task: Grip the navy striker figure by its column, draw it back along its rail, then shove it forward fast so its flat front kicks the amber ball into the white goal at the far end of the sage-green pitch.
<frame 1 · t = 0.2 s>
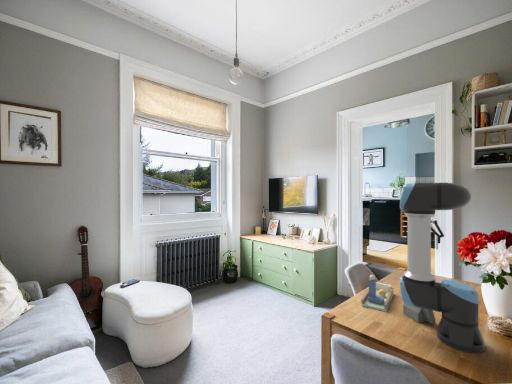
hand: (422, 247, 149), 28 cm above the table, fingers open, 13 cm apart
pitch: (378, 299, 141), on the table
striker: (376, 288, 136), point 8 cm above the table, slide at 0.0 cm
digital clock: (417, 317, 121), on the table
ball: (382, 292, 143), point 3 cm above the table, touching pitch
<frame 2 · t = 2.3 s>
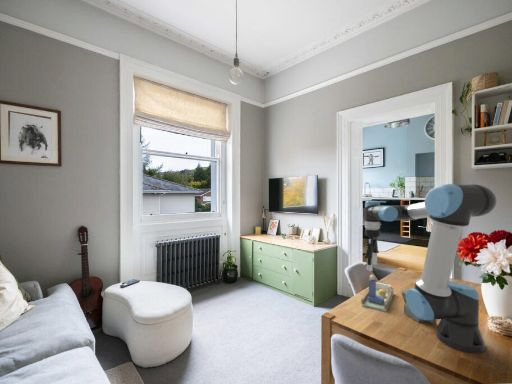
hand: (372, 267, 138), 19 cm above the table, fingers open, 13 cm apart
nothing on the table moved.
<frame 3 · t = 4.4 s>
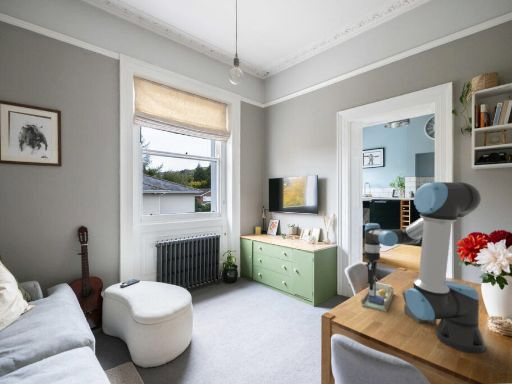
hand: (372, 294, 137), 5 cm above the table, fingers closed on striker, 3 cm apart
striker: (376, 288, 136), point 8 cm above the table, slide at 0.0 cm, touching gripper
everything else where it was.
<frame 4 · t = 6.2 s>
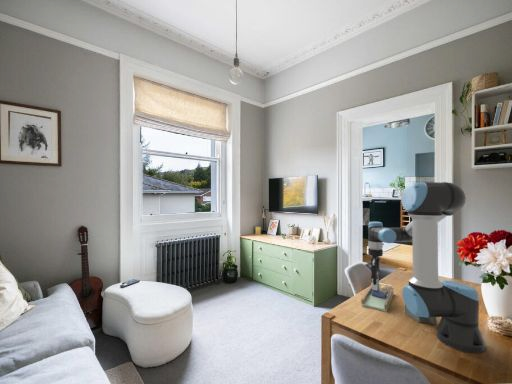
hand: (375, 288, 145), 5 cm above the table, fingers closed on striker, 3 cm apart
striker: (379, 283, 144), point 8 cm above the table, slide at 9.4 cm, touching gripper
ball: (384, 289, 148), point 3 cm above the table, tilted 173°, touching pitch
everything else where it was.
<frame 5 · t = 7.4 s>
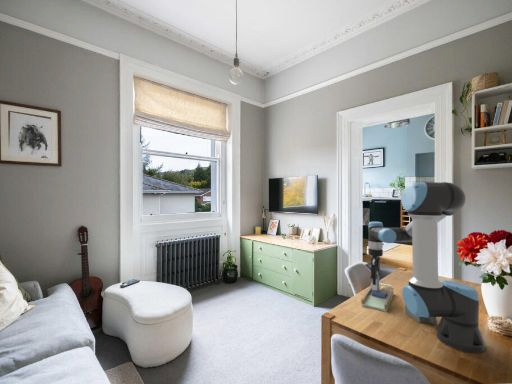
hand: (375, 288, 145), 5 cm above the table, fingers open, 6 cm apart
striker: (379, 282, 144), point 8 cm above the table, slide at 9.5 cm
ball: (383, 289, 147), point 3 cm above the table, tilted 128°, touching pitch
everything else where it was.
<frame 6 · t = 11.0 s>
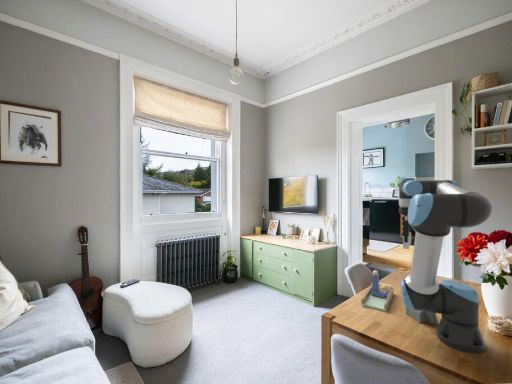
hand: (407, 246, 133), 32 cm above the table, fingers open, 13 cm apart
ball: (384, 288, 149), point 3 cm above the table, tilted 179°, touching pitch
at the end: ball inside the target area on the pitch (1.5 cm from its centre), point 3.0 cm above the pitch's base; striker slide at 9.5 cm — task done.
